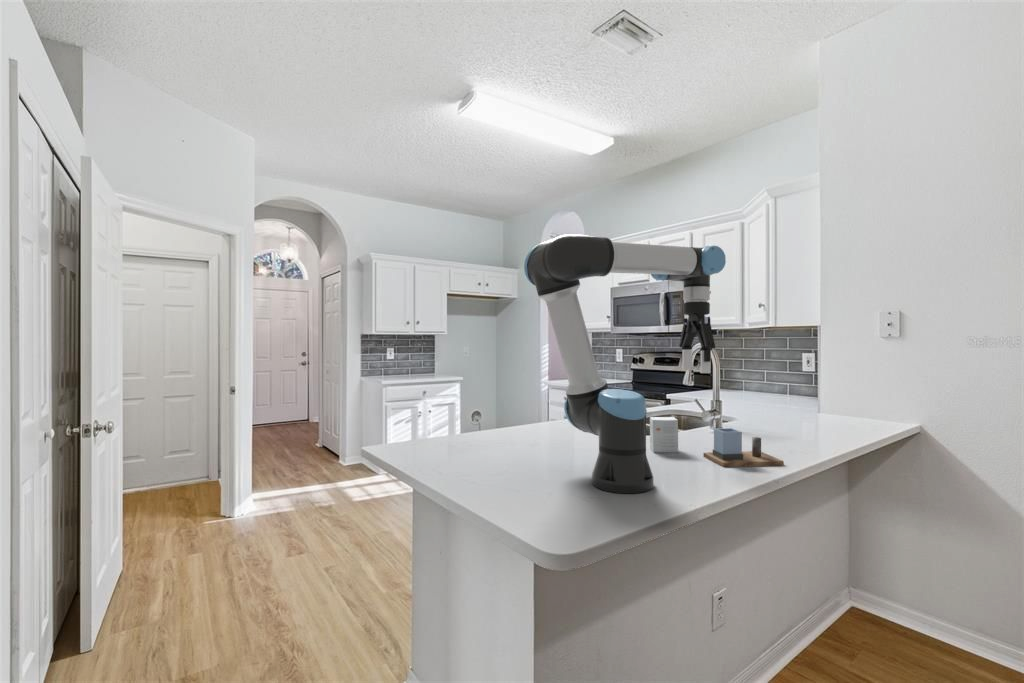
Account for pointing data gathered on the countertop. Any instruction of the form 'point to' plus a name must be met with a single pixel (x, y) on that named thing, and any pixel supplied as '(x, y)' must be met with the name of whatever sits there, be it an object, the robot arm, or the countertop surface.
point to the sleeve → (728, 444)
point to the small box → (663, 434)
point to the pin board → (748, 457)
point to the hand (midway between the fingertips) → (695, 371)
